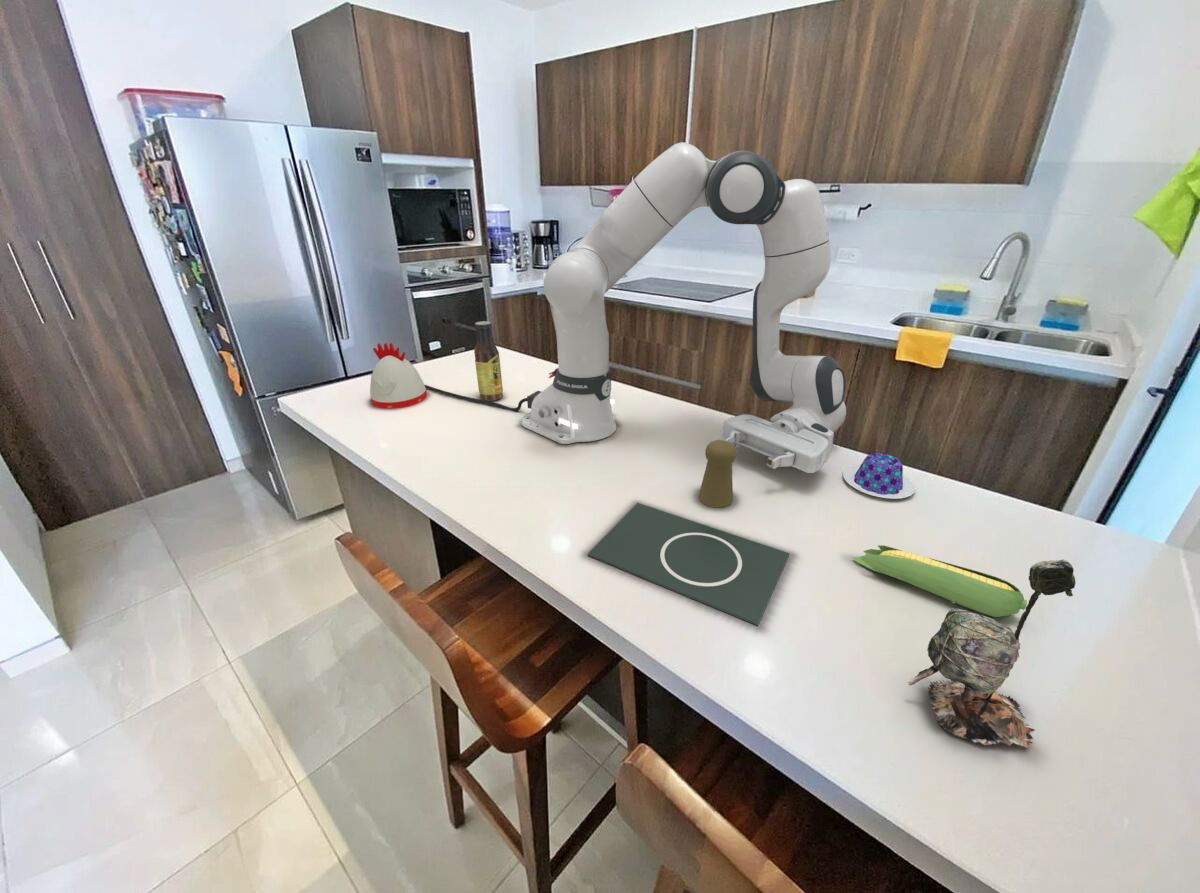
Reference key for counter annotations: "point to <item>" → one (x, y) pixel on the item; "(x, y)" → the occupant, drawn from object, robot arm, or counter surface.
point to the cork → (718, 474)
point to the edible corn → (947, 581)
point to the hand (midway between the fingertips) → (748, 453)
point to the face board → (694, 560)
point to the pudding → (880, 477)
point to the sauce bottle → (487, 363)
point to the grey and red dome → (395, 380)
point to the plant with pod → (985, 666)
